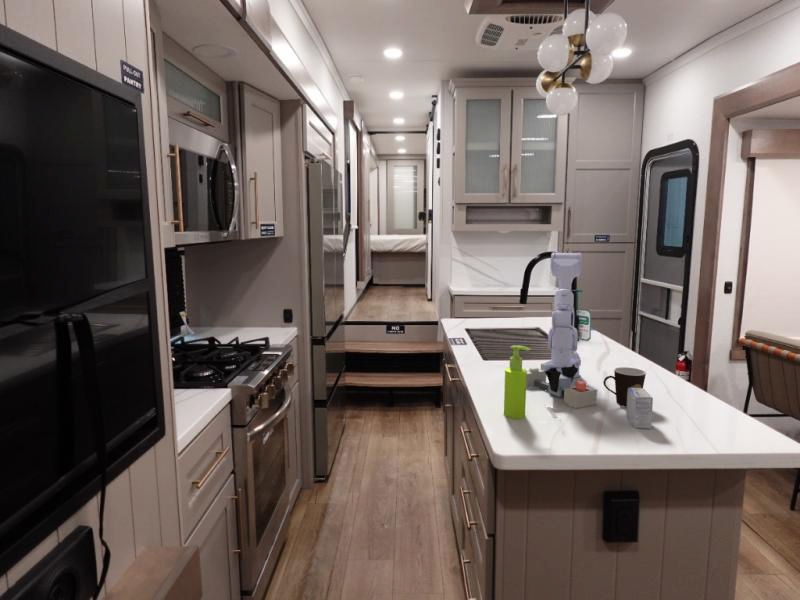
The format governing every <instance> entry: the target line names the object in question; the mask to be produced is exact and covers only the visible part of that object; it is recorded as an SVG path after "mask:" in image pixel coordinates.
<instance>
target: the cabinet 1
mask: <svg viewBox="0 0 800 600" xmlns="http://www.w3.org/2000/svg"><path fill="white" fill-rule="evenodd" d="M526 371H527V373H526V388H530V387H529V386H531V387H535V386H534V380H538V379H540V380H542V381H545V382H547V375H546V373H545V372H544V371H543V370H541V368H539V367H537V366H536V367H535V366H533V367H532V366H530V367H529V370H526Z"/></svg>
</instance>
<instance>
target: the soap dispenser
mask: <svg viewBox="0 0 800 600" xmlns="http://www.w3.org/2000/svg"><path fill="white" fill-rule="evenodd" d="M510 349H511V350H512V356H510V357H509V367H506V368H505V369H504V393H503V394H504V396H503V397H504V398H503V404H504V405H503V415H504V416H505V417H506V418H509V419H514V420H515V419H519V420H520V419H523V418H525V417H526V401H527V400H526V399H527V387H526V373H527V371H528V370H527V369H525V368H523V357H521V356H520V351H521V350H522V351H525V352H530V351H531V350H532V348H530V347H527V346H524V345H518V344H517V345H515V344H514V345H511V346H510Z"/></svg>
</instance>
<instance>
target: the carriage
mask: <svg viewBox="0 0 800 600" xmlns="http://www.w3.org/2000/svg"><path fill="white" fill-rule="evenodd" d="M566 388H572V382H571V378H569V377H567V376H564V375H560V377H559V381H558V390H557V392H554V391H551V388H550V384H549V390H548V391H547V393H549V394H552V395H554V396H556V397H558V398H562V391H564V389H566Z"/></svg>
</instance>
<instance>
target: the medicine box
mask: <svg viewBox="0 0 800 600" xmlns="http://www.w3.org/2000/svg"><path fill="white" fill-rule="evenodd" d="M653 399H654V398H653V396H651V395H650V393H648V391H647V390H646V389H645V388H643V389H642V388H628V392H627V407H626V413H625V415H626V418H627V420H628V421H629V423H630V424H631V425H632V427H633V428H634V429H645V430H646V429H649V430H650V429H652V425H653V424H652V423H653V421H652V420H653V403H654V400H653Z"/></svg>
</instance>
